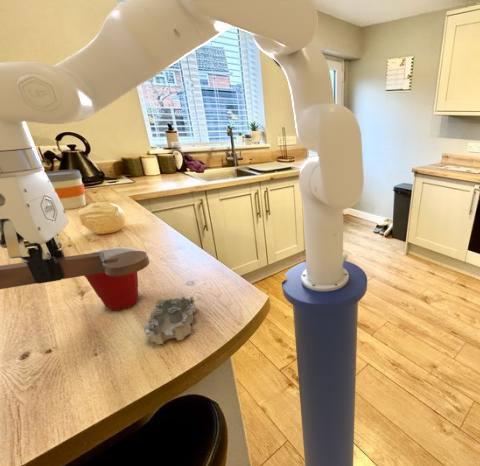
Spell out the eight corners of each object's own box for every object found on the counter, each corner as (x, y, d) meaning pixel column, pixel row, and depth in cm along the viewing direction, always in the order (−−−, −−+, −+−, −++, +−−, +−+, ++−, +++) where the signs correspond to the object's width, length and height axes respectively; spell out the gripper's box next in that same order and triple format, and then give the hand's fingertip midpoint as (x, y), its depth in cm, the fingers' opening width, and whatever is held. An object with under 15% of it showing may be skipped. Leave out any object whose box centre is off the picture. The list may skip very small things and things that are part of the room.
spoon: (-19, 299, 42) (-30, 280, 40) (8, 277, 47) (-1, 260, 46) (146, 271, 49) (141, 255, 48) (152, 255, 55) (148, 240, 53)
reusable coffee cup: (48, 211, 121) (33, 176, 115) (60, 203, 131) (47, 170, 126) (85, 208, 126) (73, 174, 120) (95, 200, 136) (84, 168, 130)
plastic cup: (159, 301, 66) (146, 254, 61) (99, 325, 58) (78, 274, 53) (144, 283, 72) (131, 240, 67) (89, 303, 65) (69, 255, 60)
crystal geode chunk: (190, 340, 55) (185, 323, 53) (144, 348, 53) (138, 330, 51) (199, 306, 64) (196, 290, 63) (161, 312, 62) (156, 296, 60)
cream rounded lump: (81, 239, 96) (69, 208, 92) (96, 226, 106) (86, 198, 102) (121, 235, 100) (112, 205, 95) (132, 223, 110) (124, 196, 106)
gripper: (5, 171, 35) (63, 298, 42) (62, 154, 48) (98, 253, 55) (-88, 175, 32) (-9, 311, 39) (0, 156, 45) (47, 260, 52)
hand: (54, 276), depth 47 cm, fingers closed on spoon
